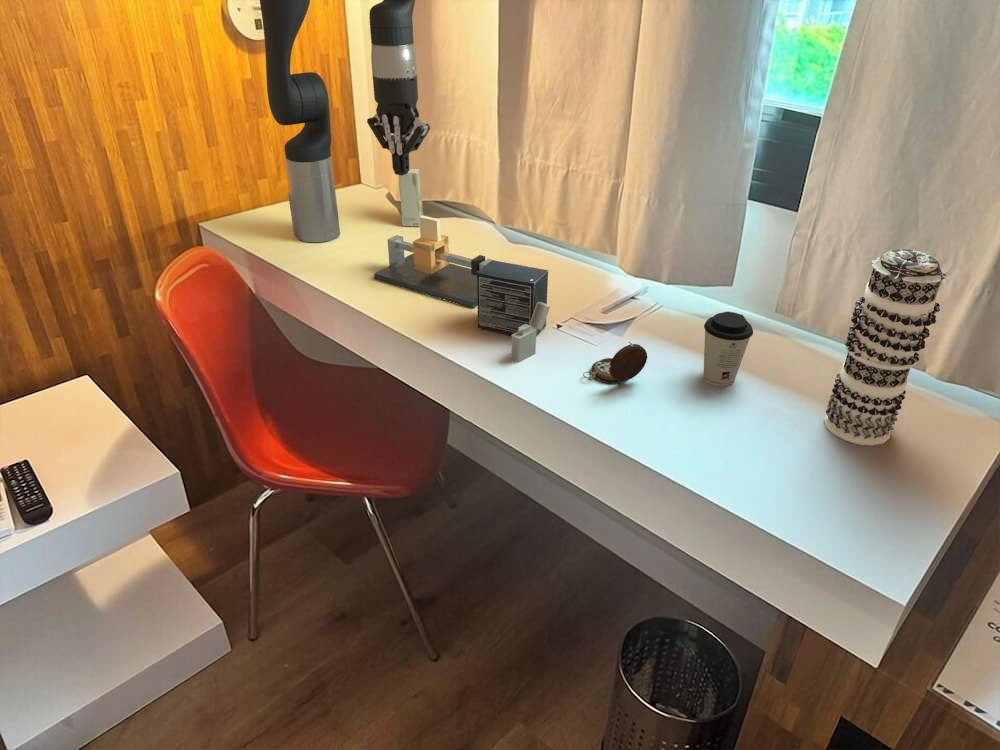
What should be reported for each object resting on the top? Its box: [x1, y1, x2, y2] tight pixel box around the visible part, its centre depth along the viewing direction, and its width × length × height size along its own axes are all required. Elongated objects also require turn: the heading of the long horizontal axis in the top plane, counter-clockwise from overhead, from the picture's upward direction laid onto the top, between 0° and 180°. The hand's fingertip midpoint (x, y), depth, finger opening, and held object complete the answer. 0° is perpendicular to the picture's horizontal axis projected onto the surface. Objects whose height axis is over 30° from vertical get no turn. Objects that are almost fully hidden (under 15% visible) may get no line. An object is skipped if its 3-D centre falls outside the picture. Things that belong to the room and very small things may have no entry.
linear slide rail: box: [373, 234, 493, 309], centre depth 137 cm, size 23×12×7 cm, turn 58°
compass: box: [582, 341, 648, 384], centre depth 108 cm, size 8×8×7 cm
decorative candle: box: [823, 248, 947, 447], centre depth 93 cm, size 9×9×25 cm
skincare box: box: [398, 169, 424, 227], centre depth 163 cm, size 6×4×12 cm
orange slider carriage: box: [412, 215, 450, 274], centre depth 136 cm, size 4×6×10 cm
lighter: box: [510, 302, 551, 363], centre depth 114 cm, size 7×2×8 cm, turn 135°
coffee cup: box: [702, 311, 754, 387], centre depth 107 cm, size 7×7×10 cm
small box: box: [476, 259, 549, 337], centre depth 121 cm, size 11×6×10 cm, turn 65°
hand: (401, 174), depth 132 cm, fingers closed
